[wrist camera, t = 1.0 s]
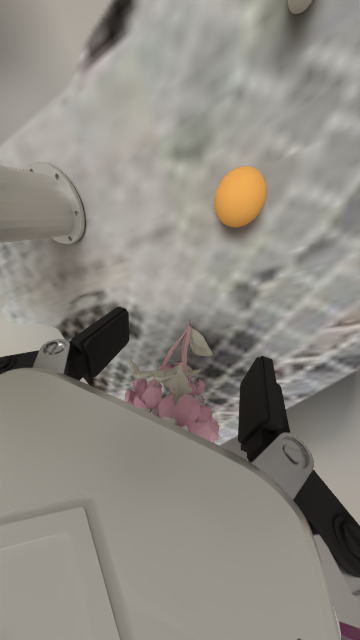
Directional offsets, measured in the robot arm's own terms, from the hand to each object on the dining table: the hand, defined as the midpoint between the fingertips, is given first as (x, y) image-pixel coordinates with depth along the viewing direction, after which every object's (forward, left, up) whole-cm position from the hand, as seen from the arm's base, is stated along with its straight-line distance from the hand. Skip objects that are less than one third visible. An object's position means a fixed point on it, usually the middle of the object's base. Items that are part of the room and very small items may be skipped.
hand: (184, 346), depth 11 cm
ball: (0, +9, -18) cm, 20 cm away
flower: (-1, -24, -21) cm, 32 cm away
